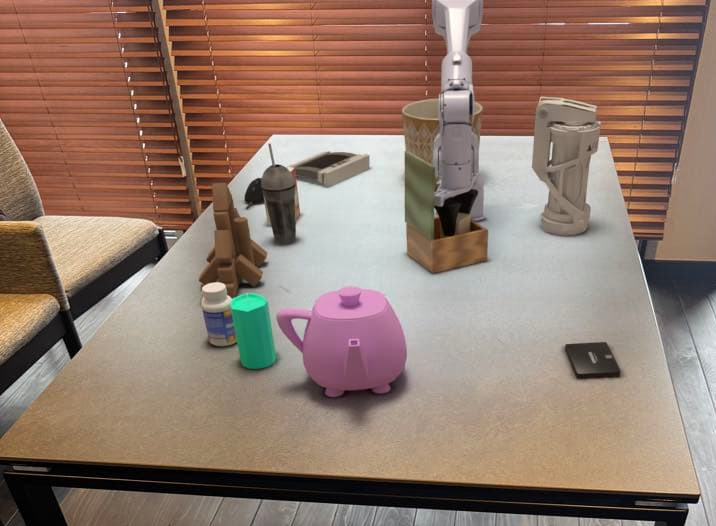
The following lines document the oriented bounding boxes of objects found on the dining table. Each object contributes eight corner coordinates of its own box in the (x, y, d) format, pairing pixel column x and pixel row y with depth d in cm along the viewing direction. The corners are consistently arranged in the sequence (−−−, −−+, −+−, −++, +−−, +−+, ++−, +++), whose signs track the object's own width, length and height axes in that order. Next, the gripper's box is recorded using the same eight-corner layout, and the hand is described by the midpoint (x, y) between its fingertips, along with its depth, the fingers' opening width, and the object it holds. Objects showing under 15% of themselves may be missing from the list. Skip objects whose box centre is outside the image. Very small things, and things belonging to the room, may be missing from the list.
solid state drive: (605, 345, 133) (606, 341, 133) (620, 375, 126) (621, 371, 125) (564, 347, 133) (565, 343, 133) (576, 377, 126) (577, 374, 125)
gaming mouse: (234, 208, 189) (231, 191, 187) (259, 187, 200) (256, 171, 197) (259, 209, 188) (256, 192, 185) (282, 189, 199) (280, 172, 196)
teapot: (284, 424, 119) (269, 332, 109) (287, 358, 134) (275, 272, 124) (414, 414, 120) (411, 322, 109) (403, 350, 134) (400, 264, 124)
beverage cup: (308, 236, 174) (297, 138, 161) (291, 249, 169) (278, 148, 156) (280, 232, 177) (266, 135, 163) (262, 244, 172) (247, 145, 159)
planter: (466, 164, 208) (467, 94, 197) (491, 187, 194) (494, 113, 183) (395, 173, 205) (392, 103, 194) (416, 197, 191) (414, 122, 180)
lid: (407, 150, 152) (404, 151, 152) (435, 166, 144) (432, 167, 144) (407, 221, 161) (404, 221, 161) (433, 240, 153) (430, 240, 153)
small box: (290, 227, 179) (284, 178, 172) (267, 226, 180) (260, 177, 173) (301, 214, 185) (295, 166, 178) (278, 213, 186) (272, 165, 179)
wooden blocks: (213, 253, 169) (196, 165, 157) (271, 250, 169) (258, 162, 157) (195, 305, 150) (173, 209, 138) (259, 302, 150) (244, 206, 139)
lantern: (589, 219, 176) (604, 94, 160) (586, 237, 169) (602, 107, 152) (531, 216, 179) (540, 93, 162) (526, 234, 171) (534, 106, 155)
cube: (451, 232, 164) (451, 210, 161) (470, 236, 162) (470, 214, 159) (440, 240, 161) (440, 217, 158) (459, 244, 159) (459, 221, 156)
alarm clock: (327, 173, 196) (278, 157, 203) (327, 192, 199) (279, 176, 206) (369, 154, 206) (321, 140, 213) (369, 173, 210) (322, 158, 216)
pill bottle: (235, 347, 137) (224, 294, 131) (205, 346, 138) (193, 293, 131) (243, 332, 141) (234, 280, 135) (214, 332, 142) (203, 279, 135)
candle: (242, 352, 136) (229, 285, 128) (277, 350, 136) (266, 283, 128) (239, 370, 131) (226, 301, 123) (275, 367, 132) (264, 299, 124)
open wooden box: (459, 241, 169) (460, 211, 165) (487, 260, 161) (488, 229, 157) (406, 253, 165) (405, 223, 161) (432, 273, 158) (432, 242, 153)
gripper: (456, 147, 158) (456, 216, 167) (418, 168, 149) (419, 240, 158) (488, 152, 155) (485, 222, 164) (450, 173, 146) (450, 246, 155)
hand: (455, 231), depth 161 cm, fingers closed on cube, 4 cm apart
